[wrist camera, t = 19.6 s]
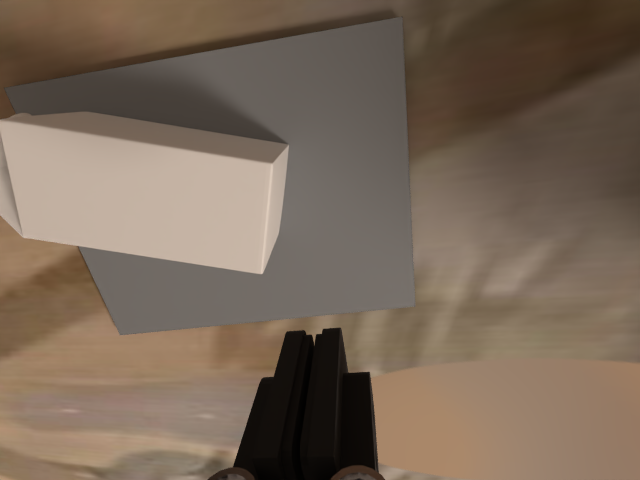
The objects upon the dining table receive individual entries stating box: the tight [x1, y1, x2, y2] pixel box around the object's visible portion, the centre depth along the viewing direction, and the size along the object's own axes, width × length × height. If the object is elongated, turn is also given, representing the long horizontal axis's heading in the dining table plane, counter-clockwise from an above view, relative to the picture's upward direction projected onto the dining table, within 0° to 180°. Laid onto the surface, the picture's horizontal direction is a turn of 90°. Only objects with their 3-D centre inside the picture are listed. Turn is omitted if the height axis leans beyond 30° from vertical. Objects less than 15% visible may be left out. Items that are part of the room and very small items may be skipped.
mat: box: [4, 17, 415, 335], centre depth 28 cm, size 28×22×1 cm
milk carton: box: [0, 112, 289, 274], centre depth 23 cm, size 7×7×19 cm
